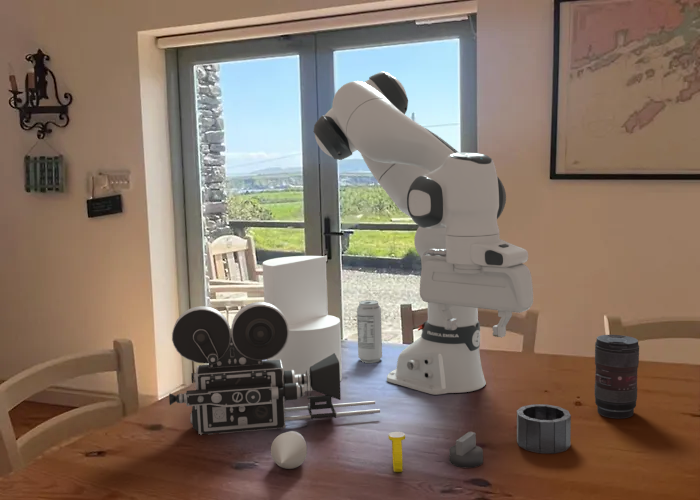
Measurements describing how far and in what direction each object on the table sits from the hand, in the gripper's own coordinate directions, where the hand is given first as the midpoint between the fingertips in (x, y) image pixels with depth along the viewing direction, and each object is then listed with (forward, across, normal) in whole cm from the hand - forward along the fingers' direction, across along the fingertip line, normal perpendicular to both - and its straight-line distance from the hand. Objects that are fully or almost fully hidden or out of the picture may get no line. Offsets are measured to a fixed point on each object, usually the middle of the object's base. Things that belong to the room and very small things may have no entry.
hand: (474, 332), depth 125 cm
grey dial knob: (+22, -1, -3) cm, 22 cm away
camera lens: (+22, +10, +34) cm, 42 cm away
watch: (+22, -8, -12) cm, 26 cm away
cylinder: (+21, -55, +14) cm, 61 cm away
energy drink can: (+21, -53, +35) cm, 67 cm away
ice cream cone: (+22, -22, -24) cm, 39 cm away
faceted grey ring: (+22, +6, +12) cm, 26 cm away
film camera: (+21, -39, -10) cm, 46 cm away
